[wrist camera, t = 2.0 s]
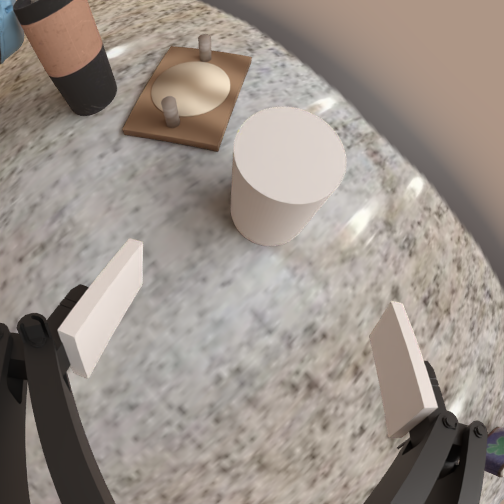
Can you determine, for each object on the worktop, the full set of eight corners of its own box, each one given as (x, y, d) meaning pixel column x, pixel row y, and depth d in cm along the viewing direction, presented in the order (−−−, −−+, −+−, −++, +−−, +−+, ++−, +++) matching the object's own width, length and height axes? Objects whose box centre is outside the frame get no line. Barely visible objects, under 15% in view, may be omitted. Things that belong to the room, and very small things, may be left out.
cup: (283, 164, 33) (308, 96, 22) (320, 225, 32) (366, 178, 20) (217, 192, 32) (214, 127, 20) (253, 259, 31) (269, 224, 19)
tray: (218, 151, 33) (217, 125, 28) (124, 134, 33) (112, 109, 28) (251, 63, 37) (254, 36, 31) (171, 51, 36) (168, 26, 31)
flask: (499, 423, 28) (546, 435, 18) (498, 438, 28) (543, 451, 17) (461, 451, 27) (509, 472, 17) (460, 466, 27) (505, 488, 16)
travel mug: (70, 90, 34) (19, -8, 14) (116, 70, 35) (81, -38, 15) (70, 125, 32) (4, 21, 13) (121, 104, 34) (75, -17, 14)
